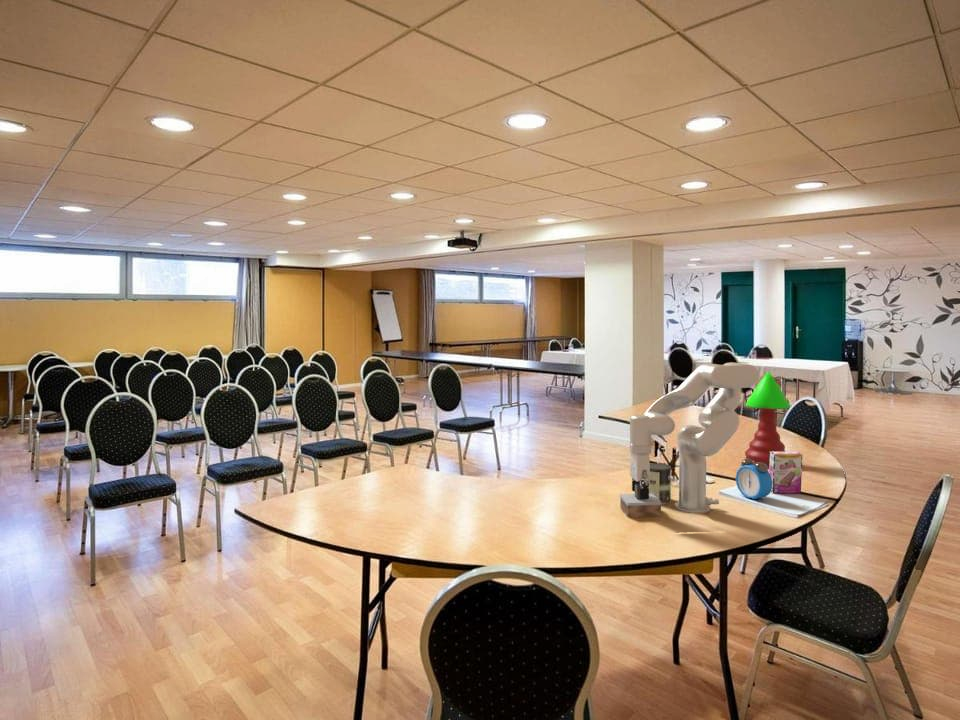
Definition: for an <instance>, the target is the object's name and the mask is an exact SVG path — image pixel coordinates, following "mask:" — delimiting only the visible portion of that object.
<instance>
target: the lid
mask: <svg viewBox="0 0 960 720" xmlns="http://www.w3.org/2000/svg"><path fill="white" fill-rule="evenodd" d="M643 483H644V482H642V484H643ZM640 488H641V486H640V483H639V484H635V491H634V493H622V494H621V493H620V494H619V498H621V499H622V500H623V501H624V502H625V503H626V505H627V506H636V505H661V506H662V505H663V504H662V502H661V501H660V500H659V499H658V498H657V497H656V496H655V495H654V494H653V493H649V499H640Z"/></svg>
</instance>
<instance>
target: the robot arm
mask: <svg viewBox="0 0 960 720" xmlns="http://www.w3.org/2000/svg"><path fill="white" fill-rule="evenodd" d="M759 379H760V372H759V369H758V368H757V367H756V366H755V365H753V364H748V363H740V362H732V361H730V362H726V363H724V364H716V363H708V362H707V363H702V364H699V366H697V367H696V368H695V369H694V370H693V371H692V372H691V373H690V375H688V376H687V378H686V379H685V380H684V381H683V382H681V384H680V385H678V387H677V388H676V389H674V390H671V391H670V392H669V393H666V394H665V395H663V396H661V397H660V398H658V399H657V400H656V401H655V402H653V404H651V406H650V407H649V408H648V409H647V410H646V411H645V412H644V413H643V414H633V415H631V417H630V419H629V453H630V457H629V476H630V477H631V480H632V481H631V492H635V484H639V483H640V486H641V488H640V499H649V480H650V455H651V454H652V435H653V436H669V435H670V434H672V433H673V432H674V431H675V429H676V428H675V427H676V423H675V421H674V419H673V418H672V417H670V416H669V415H670V414H671V413H674V412H675V411H678V410H681V409H685V408H689V407H692V406H694V405H696V404H697V403H698V401H700V399H701V398H702V397H704V395H705V394H706V393H707V392H709V390H710V389H711V388H716V389H718V391H717V393H715V395H714V397H713V398H712V399H711V400H710V401H709V402H708V403H707V404H706V405H705V406H704V408H703V409H702V410H701V411H700V413H699V414H698V418H697V419H698V423H699V425H700V426H701V427H700V426H699V425H693V424H688V425H685V426H682V427H681V428H680V429H679V431H678V432H677V437H676V439H677V440H676V441H677V442H676V444H677V448H678V460H679V461H678V462H679V468H678V472H679V473H678V476H679V477H678V478H679V479H678V482H679V483H678V501H676V502H675V503H674V508H676V509H677V510H678V511H681V512H685V513H691V514H692V513H693V514H707V513H710V511H711V505H719V504H720V501H719V499H718V498H715V499H714V498H713V497H707V458H706V457H711V456H715V454H717V453H718V452H719V451H720V450H721V449H722V448H723V447H724V446H725V445H726V444H727V443H728V442H729V440H730V439H731V438H732V437H733V436H734V435H735V433H736V432H737V431H738V429H739V425H740V417H739V415H738V413H737V412H736V411H735V410H736V409H737V408H738V406H739V405H740V403H741V399H742V390H741V389H747V388H748V389H749V388H751V387H754V386H755V385H757V384H758V382H759ZM644 479H645V480H644ZM642 483H643V484H642Z"/></svg>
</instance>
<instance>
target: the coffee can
mask: <svg viewBox="0 0 960 720" xmlns="http://www.w3.org/2000/svg"><path fill="white" fill-rule="evenodd" d="M671 475H672V466H671V465H669V464H665V463H659V462H651V463H650V480H649V493H653V494H654V495H655V496H656V497H657V498H658V499H659V500H660V501H661V502H662V505H665V504H669V503H671V500H672V498H671V495H672V494H671V493H672V492H671V491H672V488H671V487H672V486H671V485H672V482H671V481H672V476H671ZM643 480H645V479H643Z"/></svg>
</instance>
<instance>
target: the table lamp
mask: <svg viewBox="0 0 960 720" xmlns="http://www.w3.org/2000/svg"><path fill="white" fill-rule="evenodd" d="M745 406H746V407H748V408H751V409H759V413H758V418H759V422H758V425H757V430H756V432H755V433H754V435H753V436H754V437H753V439H752V440H751V441H750V442H748V443H749V444H748V445H749V447H748V449H746V450H745V451H744V456H745V458H744V459H743V460H745V459H751V460H753V461H754V462H755V463H753V464H756V463H758V462H762V463H765V464H766V465H767V467H768V469H769V464H770V452H786V447H785V444H784V443H783V442H782V441H781V436H780V434H779V432H778V431H777V430H778V429H777V427H778V426H777V423H776V419H777V414H776V410H789V409H790V408H791V407H792V406H791V405H790V403H789V401H788V399H787V398H786V395H785V394H784V393H783V391H782V388H780V385H779V384H778V382H777V381H776V379H775V378H774V377H773V375H772V374H771V372H770V371H769V370H768V371H767V372H766V374H765V375H764V376H763V377H762V379H761V380H760V381H759V383H757V384H756V387H755V388H754V390H753V392H752V393H751V394H750V396H749V398H748V400H747V401H746V403H745ZM750 465H751V464H750Z"/></svg>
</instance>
